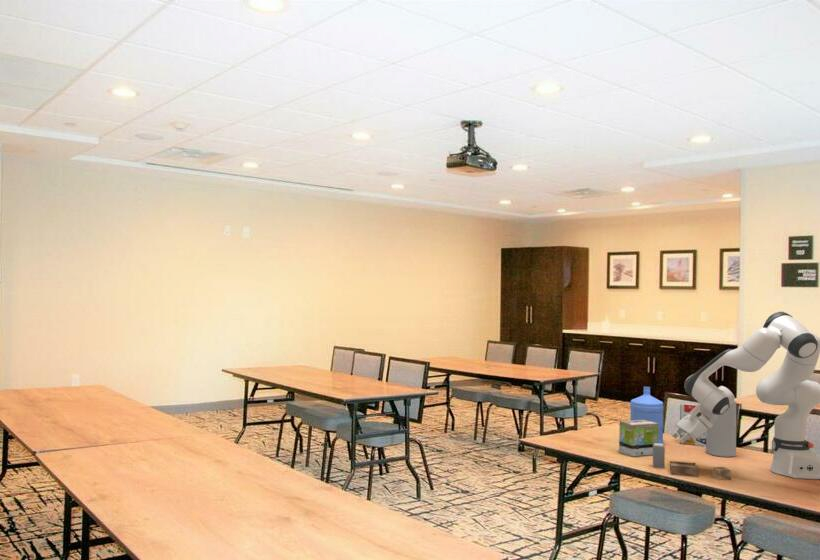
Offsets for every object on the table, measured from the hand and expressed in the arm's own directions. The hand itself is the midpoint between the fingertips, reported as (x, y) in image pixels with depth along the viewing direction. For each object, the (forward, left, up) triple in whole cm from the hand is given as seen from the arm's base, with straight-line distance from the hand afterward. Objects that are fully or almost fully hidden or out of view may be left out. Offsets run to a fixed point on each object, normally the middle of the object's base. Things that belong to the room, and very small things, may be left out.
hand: (676, 439), depth 277 cm
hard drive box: (-15, -53, -12) cm, 56 cm away
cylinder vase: (-23, -34, -12) cm, 43 cm away
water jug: (+9, -46, -12) cm, 48 cm away
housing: (+7, 0, -12) cm, 14 cm away
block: (-16, +11, -12) cm, 23 cm away
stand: (-2, +8, -12) cm, 15 cm away
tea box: (+14, -22, -12) cm, 29 cm away
